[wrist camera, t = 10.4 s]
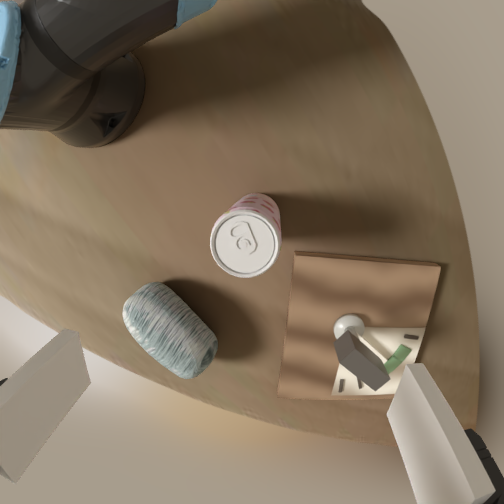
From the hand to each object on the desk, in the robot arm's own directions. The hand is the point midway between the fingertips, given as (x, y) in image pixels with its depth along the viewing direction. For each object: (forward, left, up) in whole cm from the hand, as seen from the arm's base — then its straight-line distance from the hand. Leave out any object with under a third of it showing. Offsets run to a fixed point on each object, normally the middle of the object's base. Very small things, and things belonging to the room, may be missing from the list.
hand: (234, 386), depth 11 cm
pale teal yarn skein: (+13, -11, -29) cm, 34 cm away
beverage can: (-2, -1, -29) cm, 29 cm away
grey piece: (+12, +14, -26) cm, 32 cm away
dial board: (+13, +14, -29) cm, 34 cm away
